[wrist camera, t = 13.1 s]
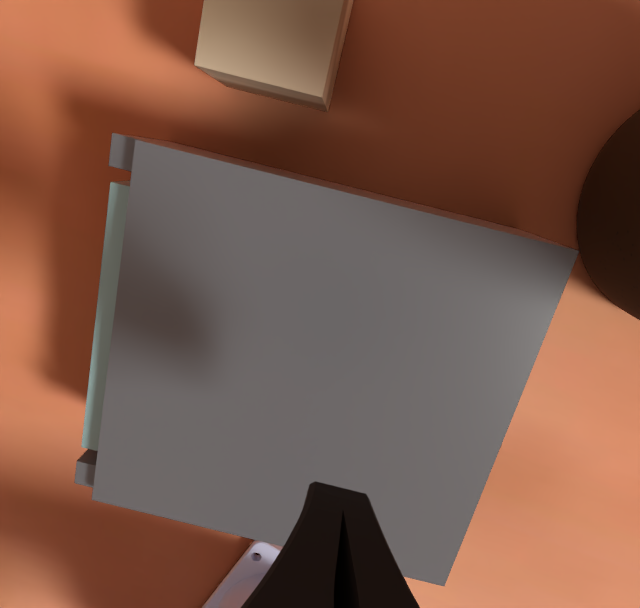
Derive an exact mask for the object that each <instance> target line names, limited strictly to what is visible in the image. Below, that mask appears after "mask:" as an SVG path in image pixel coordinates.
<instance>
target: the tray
mask: <svg viewBox="0 0 640 608" xmlns="http://www.w3.org/2000/svg"><path fill="white" fill-rule="evenodd" d="M129 189H130V181H116V182H110V191H109V201H108V210H107V219H106V228H105V237H104V246H103V255H102V264H101V273H100V283H99V292H98V301H97V310H96V319H95V328H94V337H93V346H92V356H91V365H90V374H89V383H88V392H87V401H86V410H85V419H84V428H83V438H82V447H83V448H87V449H91V450H95V451H98V444H99V436H100V428H101V419H102V411H103V403H104V395H105V386H106V378H107V370H108V362H109V353H110V345H111V337H112V329H113V320H114V312H115V304H116V296H117V287H118V279H119V271H120V263H121V254H122V246H123V238H124V230H125V222H126V213H127V205H128V197H129Z"/></svg>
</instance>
